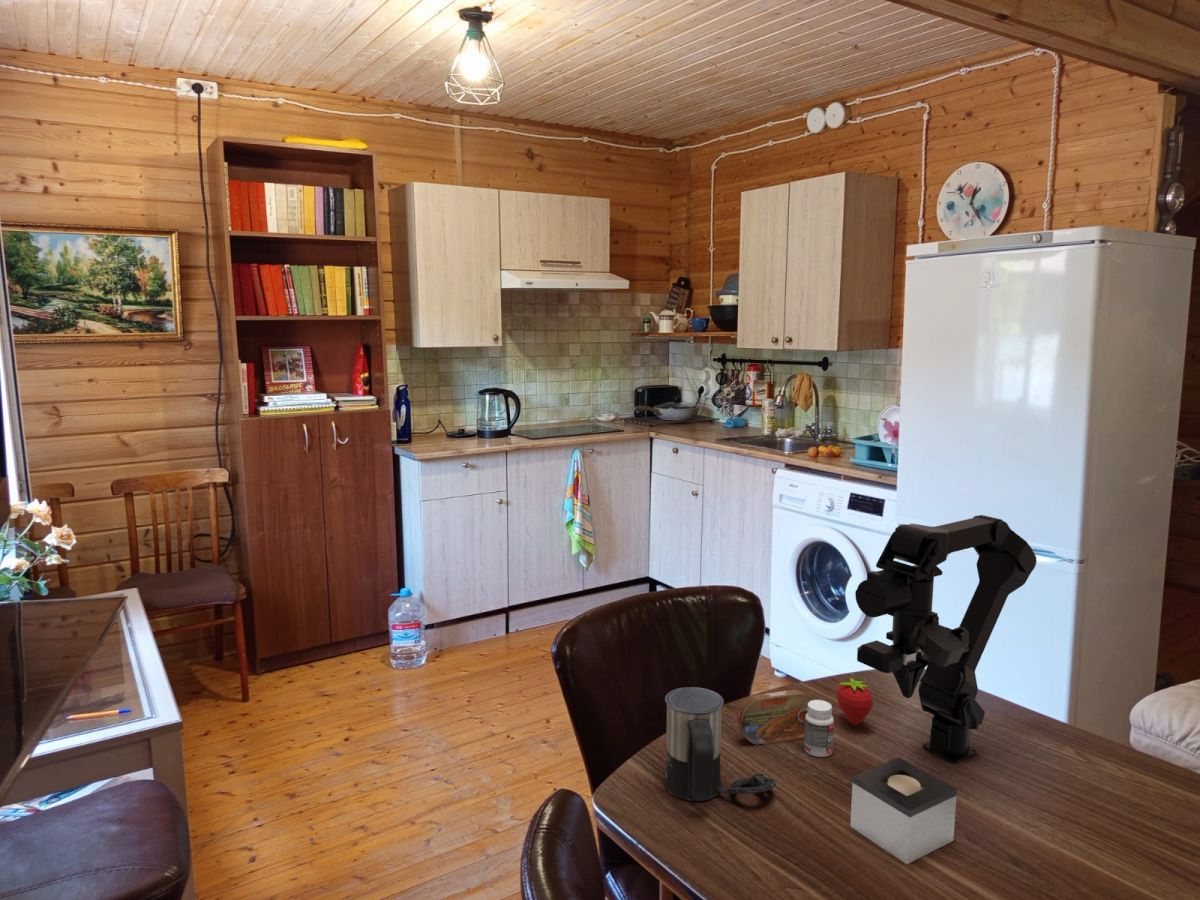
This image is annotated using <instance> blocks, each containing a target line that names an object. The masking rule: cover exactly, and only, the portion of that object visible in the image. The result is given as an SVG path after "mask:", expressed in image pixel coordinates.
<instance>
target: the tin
mask: <svg viewBox="0 0 1200 900" xmlns="http://www.w3.org/2000/svg"><path fill="white" fill-rule="evenodd" d="M812 700H815V699H814V697H812V696H810V695H809V694H807V693H806V692H804V691H802V690H799V689H791V690H781V691H775V692H769V693H762V694H761V693H759V694H754V695H751V696H749V697H747V698H746V699H745V700H744V701H743V702H742V703H741V704H740V705H739V708H738V710H737V714H736V723H737V724H736V725H737V728H738V730H739V731H740V733H741V734H742V735H743V737H744V738H745V740H747V741H748V742H749V743H751V744H753V745H759V744H764V745H769V743H770V744H775V743H782V742H789V741H791V742H792V741H796V740H802V739H805V716H806V714H807V713H808V711H807V708H808V703H809V702H810V701H812Z"/></svg>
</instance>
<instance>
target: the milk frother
mask: <svg viewBox="0 0 1200 900" xmlns="http://www.w3.org/2000/svg"><path fill="white" fill-rule="evenodd" d="M664 701H665V703H666V768H665V779H664V787H665V790H666V791H667V792H669V793H670V794H671V795H672V796H674V797H676V798H678V799H681V800H685V801H692V802H693V801H695V802H696V801H697V802H700V801H702V802H703V801H708V800H710V799H714V798H715V797H717V796H718V795H719V794H720V793H722V794H723V793H724V794H734V795H735V794H736V795H751V794H754V795H755V794H761V793H764V792H766V791H767V792H768V791H770V790H772V789H774V788H775V787H776V785H777V783H776V780H775V779H774V778H772V777H771V778H770V777H767V776H764V774H763V773H761V772H758V773H754V774H751V776H749V777H743V778H738V779H736V780H735V781H733V782H732V783H731V784H730V785H729V788H728V787H727V788H725V787H723V781H722V777H721V776H722V774H721V772H722V771H721V749H722V748H721V744H722V743H721V741H722V740H721V739H722V707H723V705H724V698H723V697H722V696H721V695H720V694H719V693H718V692H717V691H716V692H715V691H713V690H710V689H708V688H703V687H695V686H691V687H690V686H688V687H687V686H686V687H679V688H675V689H673V690H671V691H669V692H668V693H666V695H665V697H664ZM749 783H750V784H751V783H752V786H753V787H749V786H747V787H746V786H744V785H746V784H749ZM742 786H743V787H742Z"/></svg>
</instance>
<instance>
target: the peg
mask: <svg viewBox="0 0 1200 900" xmlns="http://www.w3.org/2000/svg"><path fill="white" fill-rule="evenodd" d="M888 785H889V786H890V787H892V788H894V789H896V790H897V791H899V792H901V793H902V794H904V795H906V796H909V795H911V794H913V793H916V792H918V791H920V788H921V785H920V783H919V782H918V781H917V780H915V779H914V778H912V777H909V776H905V775H894V776H891V777H889V779H888Z"/></svg>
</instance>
